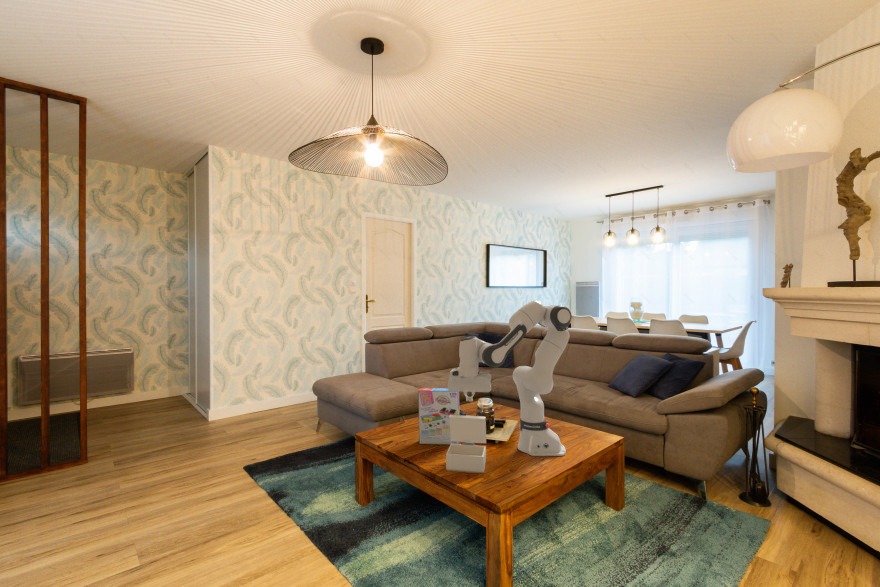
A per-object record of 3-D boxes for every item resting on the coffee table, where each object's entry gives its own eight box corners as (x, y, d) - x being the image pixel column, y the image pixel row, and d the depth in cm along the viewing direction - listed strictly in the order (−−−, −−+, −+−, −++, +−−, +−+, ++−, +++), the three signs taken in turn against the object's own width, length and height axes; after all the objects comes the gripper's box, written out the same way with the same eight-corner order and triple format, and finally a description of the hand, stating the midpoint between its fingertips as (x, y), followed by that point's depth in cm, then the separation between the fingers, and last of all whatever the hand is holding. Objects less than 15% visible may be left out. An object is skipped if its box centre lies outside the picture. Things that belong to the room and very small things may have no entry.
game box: (460, 441, 208) (459, 388, 207) (459, 445, 202) (459, 390, 202) (420, 440, 210) (419, 387, 210) (418, 444, 204) (417, 390, 204)
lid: (486, 461, 183) (487, 450, 191) (485, 418, 179) (486, 409, 188) (450, 458, 186) (453, 448, 194) (448, 416, 182) (452, 407, 191)
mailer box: (485, 461, 182) (485, 446, 182) (483, 473, 171) (483, 456, 171) (450, 459, 186) (450, 443, 186) (446, 470, 174) (446, 454, 174)
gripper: (491, 370, 191) (492, 399, 191) (448, 369, 194) (449, 398, 195) (490, 373, 184) (491, 403, 185) (446, 372, 188) (447, 401, 188)
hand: (469, 400), depth 190 cm, fingers closed
